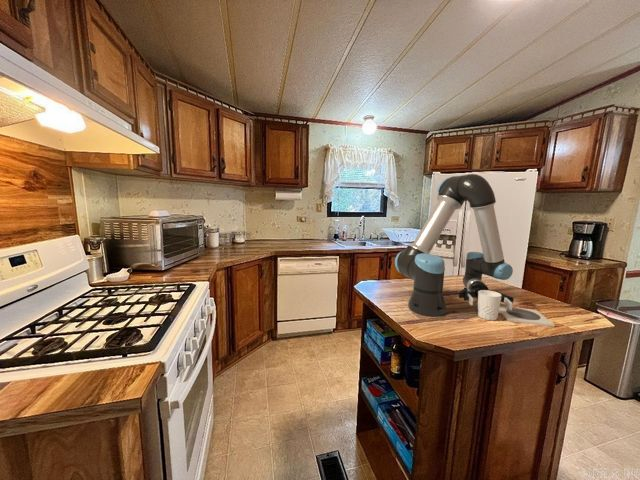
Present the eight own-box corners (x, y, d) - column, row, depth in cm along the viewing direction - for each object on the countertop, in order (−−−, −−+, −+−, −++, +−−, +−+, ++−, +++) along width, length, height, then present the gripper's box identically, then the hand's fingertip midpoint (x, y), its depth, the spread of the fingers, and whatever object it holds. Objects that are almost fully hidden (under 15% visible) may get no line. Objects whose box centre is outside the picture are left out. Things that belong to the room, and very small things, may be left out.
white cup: (488, 322, 102) (490, 297, 100) (471, 314, 109) (473, 290, 108) (503, 320, 104) (506, 295, 102) (486, 312, 111) (488, 289, 110)
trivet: (507, 320, 103) (507, 318, 103) (495, 307, 117) (495, 304, 117) (554, 326, 98) (554, 324, 98) (536, 311, 112) (536, 309, 112)
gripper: (507, 299, 121) (527, 317, 101) (447, 293, 129) (455, 309, 109) (509, 283, 120) (529, 298, 100) (449, 278, 128) (457, 291, 108)
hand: (491, 304), depth 104 cm, fingers open, 13 cm apart
